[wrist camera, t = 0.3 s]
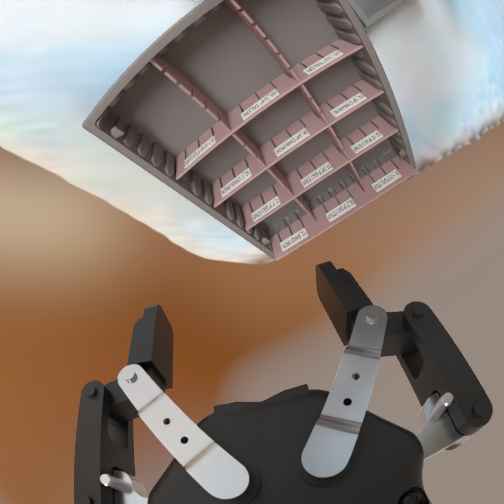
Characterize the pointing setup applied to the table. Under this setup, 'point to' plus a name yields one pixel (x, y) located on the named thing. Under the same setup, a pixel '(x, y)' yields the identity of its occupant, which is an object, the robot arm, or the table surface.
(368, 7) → the tray
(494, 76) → the table surface
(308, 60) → the organizer tray
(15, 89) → the table surface
